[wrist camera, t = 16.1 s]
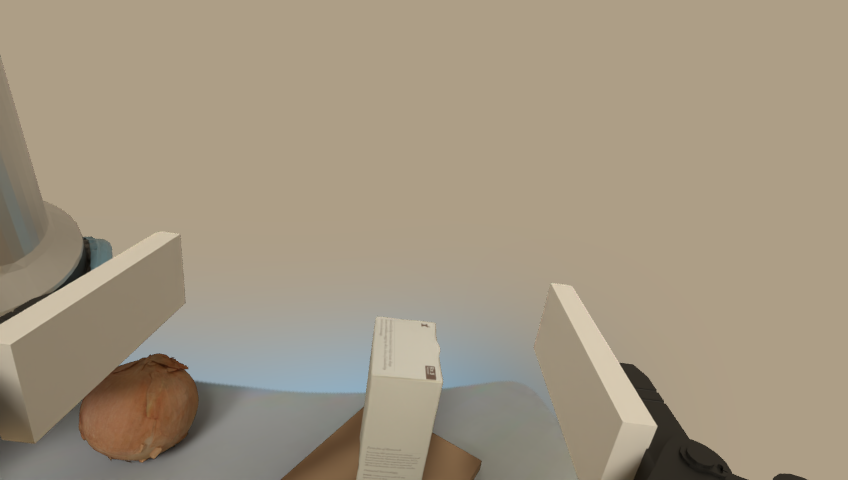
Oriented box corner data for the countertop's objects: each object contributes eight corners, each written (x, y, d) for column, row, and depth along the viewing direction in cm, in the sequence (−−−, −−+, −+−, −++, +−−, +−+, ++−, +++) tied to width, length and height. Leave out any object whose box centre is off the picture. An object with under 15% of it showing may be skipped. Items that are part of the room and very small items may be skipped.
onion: (172, 435, 48) (199, 345, 49) (191, 480, 41) (223, 373, 42) (63, 439, 42) (95, 336, 43) (63, 492, 35) (103, 366, 36)
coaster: (277, 491, 41) (278, 482, 40) (372, 406, 52) (373, 398, 52) (403, 590, 34) (405, 580, 34) (479, 469, 46) (481, 460, 45)
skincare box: (359, 435, 46) (371, 312, 41) (416, 438, 47) (436, 317, 42) (352, 510, 39) (366, 371, 33) (421, 513, 39) (445, 376, 34)
